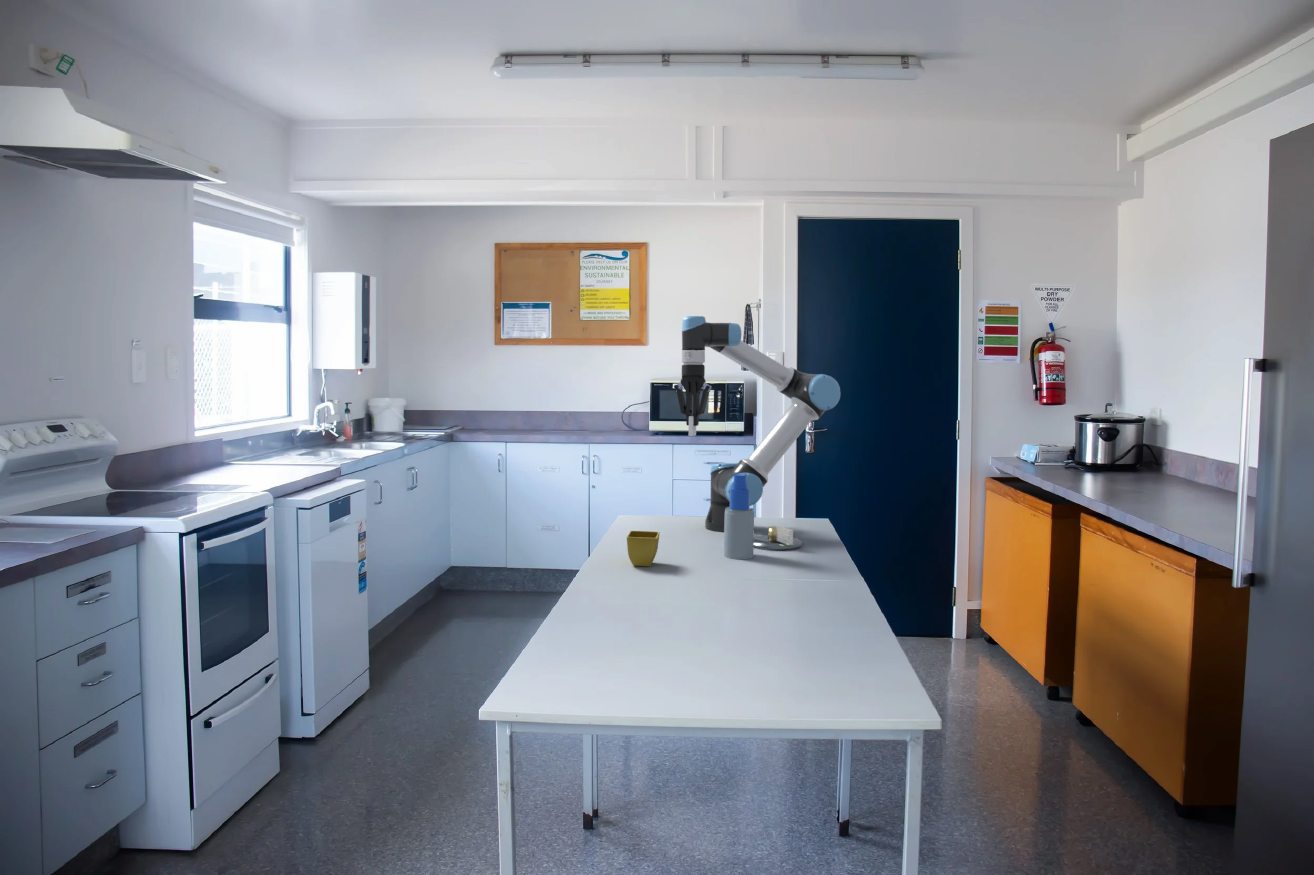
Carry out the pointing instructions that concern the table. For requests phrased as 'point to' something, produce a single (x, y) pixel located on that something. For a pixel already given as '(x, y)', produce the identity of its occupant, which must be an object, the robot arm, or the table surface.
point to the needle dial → (780, 535)
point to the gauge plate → (775, 544)
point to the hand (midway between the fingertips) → (692, 435)
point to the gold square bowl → (642, 547)
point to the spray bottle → (739, 521)
